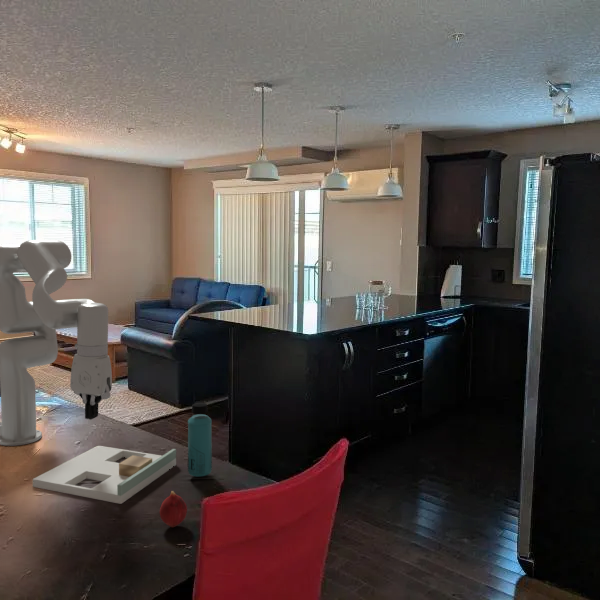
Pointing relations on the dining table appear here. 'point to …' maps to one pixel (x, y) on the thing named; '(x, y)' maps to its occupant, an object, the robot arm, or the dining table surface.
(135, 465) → the block
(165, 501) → the onion
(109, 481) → the board
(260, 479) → the dining table surface
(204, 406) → the beverage bottle
